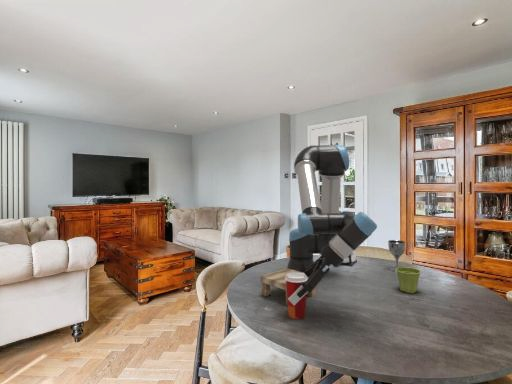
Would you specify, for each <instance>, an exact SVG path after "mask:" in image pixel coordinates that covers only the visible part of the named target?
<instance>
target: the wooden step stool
mask: <svg viewBox="0 0 512 384" xmlns="http://www.w3.org/2000/svg"><path fill="white" fill-rule="evenodd" d="M292 272H299V273H304V272H300V271H296V270H292V269H288V268H287V267H286V268H282V269H279V270H277V271H273V272H270V273H266V274H264V275H260V282H261V295H264V296H263V297H265V296H268V297H270V296H271V286H272V287H274V288H278V289H281V290H284V291H285V305H286V306H288V300H287V286H286V280H285V277H286V275H287V274H288V273H292ZM308 278H309V277H308ZM308 286H309V285H308ZM269 295H270V296H269ZM306 296H308V297H311V298H313V297H315V296H316V287H315V288H314V289H313V290H312V292H308V293H307V294H306Z"/></svg>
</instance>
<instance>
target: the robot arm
mask: <svg viewBox="0 0 512 384" xmlns="http://www.w3.org/2000/svg"><path fill="white" fill-rule="evenodd" d="M294 160H295V161H294V164H293V169H294V173H295V175H296V176H297V182H298V191H299V197H300V198H299V199H300V207H301V213H299V214H298V215H297V228H294V229H291V230H290V232H289V236H288V237H289V239H288V241H289V259H288V263H287V267H286V268H288V269H292V270H296V271H300V272H304V274H306V277H307V281H306V282H305V283H302V284H301V286H300V287H299V288H298V289H297V290H296V291H295V292H294V293H293V294H292V295H291V296H290V297H289V298H288V300H289V301H290V302H291V303H292V304H293V305H295V304H296V303H297V302H298V301H299V300H301V299H302V298H303V297H304V296H305V295H306V296H307V293H308V292H312V290H313V289H314V288H315V289H316V287H317V286H318V284H319V283H320V282H321V280H322V279H323V278H324V277H325V275H326V274H327V273H328V272H330V270H331V268H330V266H331V265H332V266H333V267H334V268H338V267H339V266H340V265H341V264H342V262H343V260H344V259H343V258H347V257H348V256H349V255H353V253H352V252H353V251H354V250H355V249H358V248H359V246H361V245H362V244H363V243H364V242H365V241H366V240H367V239H368V238H369V237H370V236H372V234H373V233H374V232H375V231H376V229H377V228H378V224H377V223H376V222H375V221H374V220H373V219H372V218H371V217H369V216H368V215H367V214H366V213H365V212H363V211H358V213H357V214H355V213H354V212H351V211H347V210H342V211H341V212H340V201H341V200H340V198H341V179H342V178H343V176H344V175H345V171H348V170H349V168H350V157H349V152H348V149H347V148H346V145H344V144H321V145H319V144H318V145H310V146H306V147H305V148H303V149H302V150H301V151H300V152H299V153H298V154H297V156H296V158H295V159H294ZM316 172H318V175H319V176H320V177H321V197H320V194H319V189H318V188H319V187H318V183H317V178H316ZM315 254H316V255H318V254H319V255H320V256H319V257H318V258H317V259H316V260H314V255H315ZM308 277H309V278H308ZM308 285H309V286H308Z"/></svg>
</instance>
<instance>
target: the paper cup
mask: <svg viewBox="0 0 512 384" xmlns="http://www.w3.org/2000/svg"><path fill="white" fill-rule="evenodd" d="M285 280H286V286H287V300H288V298H289V297H290V296H291V295H292V294H293V293H294V292H295V291H296V290H297V289H298V288H299V287H300V286H301V284H302V283H305V282H306V281H307V277H306V274H304V273H299V272H292V273H288V274H287V275H286V277H285ZM306 304H307V294H306V295H305V296H304V297H303V298H302V299H301V300H299V301H298V302H297V303H296V304H295V305H293V304H292V303H291V302H290V301H289V300H288V305H287V310H288V311H287V312H288V316H289V318H291V319H292V320H302V319H304V318H305V317H306V309H307V308H306Z"/></svg>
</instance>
